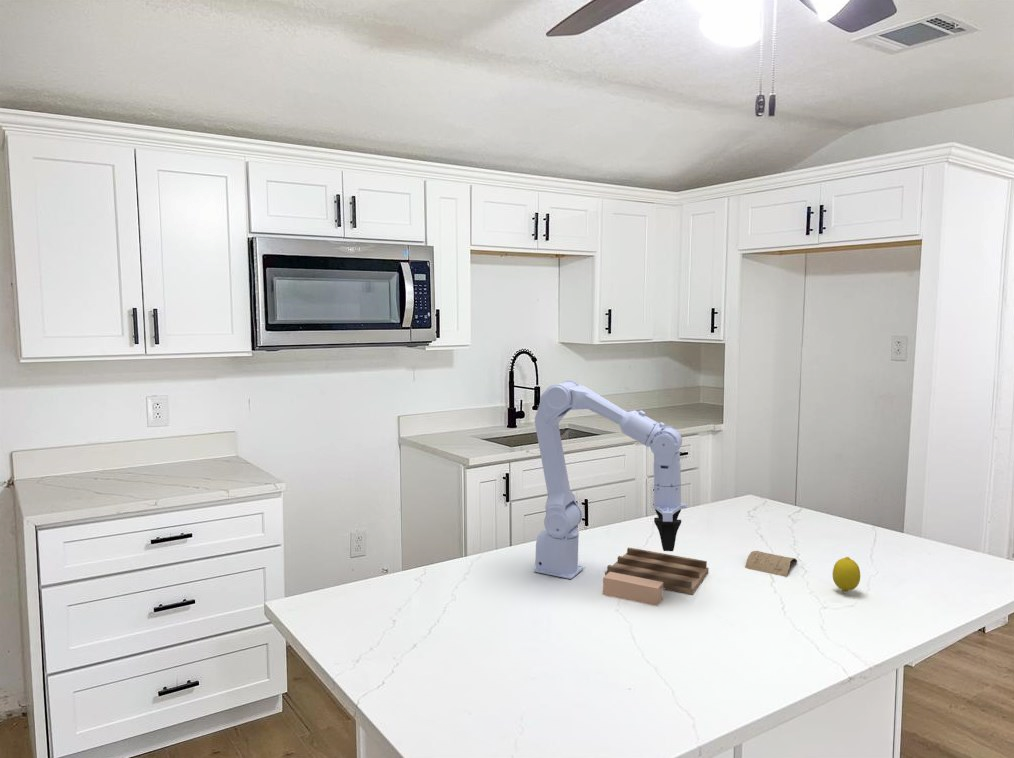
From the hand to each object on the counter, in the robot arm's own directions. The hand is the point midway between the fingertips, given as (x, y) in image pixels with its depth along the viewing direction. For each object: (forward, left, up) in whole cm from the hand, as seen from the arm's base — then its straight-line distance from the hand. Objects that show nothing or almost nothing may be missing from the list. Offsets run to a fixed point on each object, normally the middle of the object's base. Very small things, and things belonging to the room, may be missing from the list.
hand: (668, 545), depth 163 cm
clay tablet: (+18, +28, -11) cm, 35 cm away
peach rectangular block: (-5, -8, -10) cm, 14 cm away
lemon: (+35, +18, -10) cm, 41 cm away
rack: (-4, +7, -10) cm, 13 cm away
